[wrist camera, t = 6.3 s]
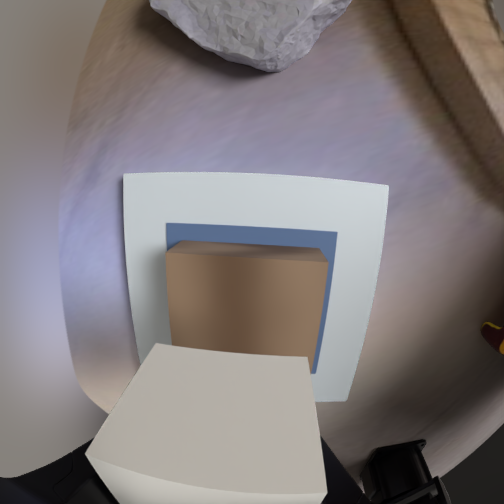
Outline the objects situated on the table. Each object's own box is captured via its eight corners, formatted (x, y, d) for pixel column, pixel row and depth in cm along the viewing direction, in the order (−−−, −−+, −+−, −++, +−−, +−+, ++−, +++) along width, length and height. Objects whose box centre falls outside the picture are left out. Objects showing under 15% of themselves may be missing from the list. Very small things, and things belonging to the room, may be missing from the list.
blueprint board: (382, 185, 16) (411, 188, 12) (344, 392, 20) (353, 427, 16) (130, 173, 17) (97, 174, 13) (148, 377, 21) (130, 408, 17)
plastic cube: (307, 356, 9) (327, 492, 4) (288, 446, 10) (290, 547, 5) (155, 343, 9) (84, 454, 4) (172, 434, 10) (138, 525, 5)
